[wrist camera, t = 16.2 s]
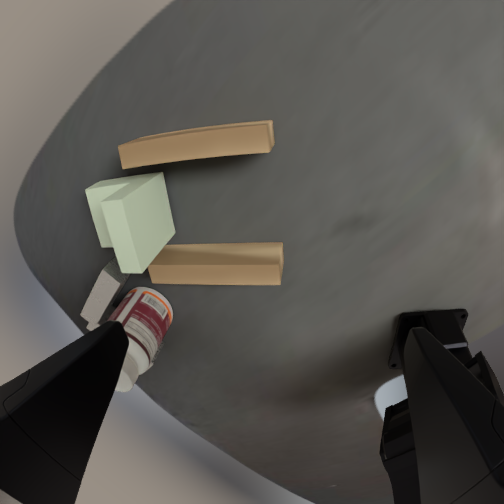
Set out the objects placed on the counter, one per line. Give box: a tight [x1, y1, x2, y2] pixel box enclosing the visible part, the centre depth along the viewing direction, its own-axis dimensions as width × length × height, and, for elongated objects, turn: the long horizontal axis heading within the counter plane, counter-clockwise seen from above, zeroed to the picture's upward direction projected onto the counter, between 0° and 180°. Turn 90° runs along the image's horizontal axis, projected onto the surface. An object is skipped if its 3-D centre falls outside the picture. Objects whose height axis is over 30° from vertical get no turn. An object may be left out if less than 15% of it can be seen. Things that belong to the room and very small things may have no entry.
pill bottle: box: [107, 287, 173, 392], centre depth 23 cm, size 5×5×8 cm
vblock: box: [80, 256, 165, 371], centre depth 26 cm, size 11×6×3 cm, turn 6°
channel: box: [118, 120, 284, 285], centre depth 20 cm, size 10×9×3 cm
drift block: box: [85, 172, 175, 273], centre depth 20 cm, size 5×6×6 cm
